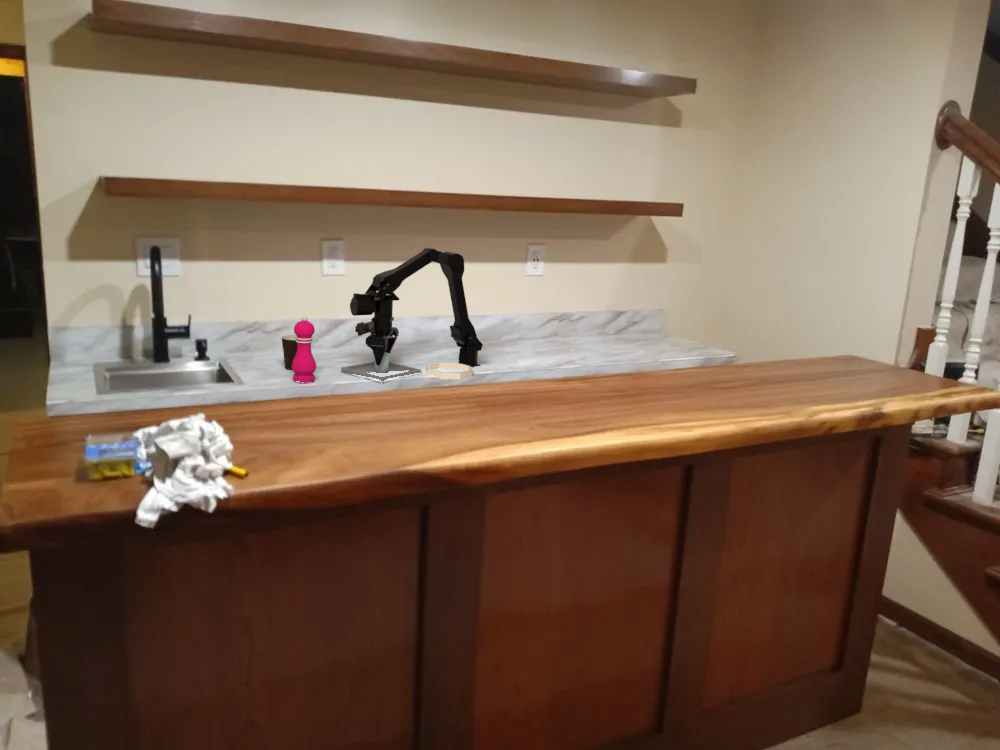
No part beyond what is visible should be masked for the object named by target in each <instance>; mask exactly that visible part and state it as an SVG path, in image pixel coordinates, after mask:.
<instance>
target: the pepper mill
mask: <svg viewBox="0 0 1000 750" xmlns="http://www.w3.org/2000/svg"><path fill="white" fill-rule="evenodd" d="M315 330H316V329H315V325H314V324H313V323H312V322H310V321H308V317H307V316H306V315H302V316H301V319H300V321H298V322H296V323H295V325H294V327H293V331H294V335H297V337H296V342H297V353H296V356H295V358H294V360H293V362H292V370H291V371H293V373H294V374H292V375H293V376H292V377H293V379H292V381H293V380H294V381H300V382H312V381H314V382H315V381H316V380H315V374H314V373H315V371H316V370H317V363H316V360H315V358H314V356H313V352H312V343H313V342H314V341H313V339H314V337H313V335H314V334H315ZM294 381H293V382H294ZM312 383H313V382H312Z"/></svg>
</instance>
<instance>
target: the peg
mask: <svg viewBox="0 0 1000 750" xmlns="http://www.w3.org/2000/svg"><path fill="white" fill-rule="evenodd" d="M389 362H390V354H389V353H387V352H385V354H384V356H383V359H382V362H381V364H380V366H378V365H376V362H375V372H376V373H388V372H389Z"/></svg>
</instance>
